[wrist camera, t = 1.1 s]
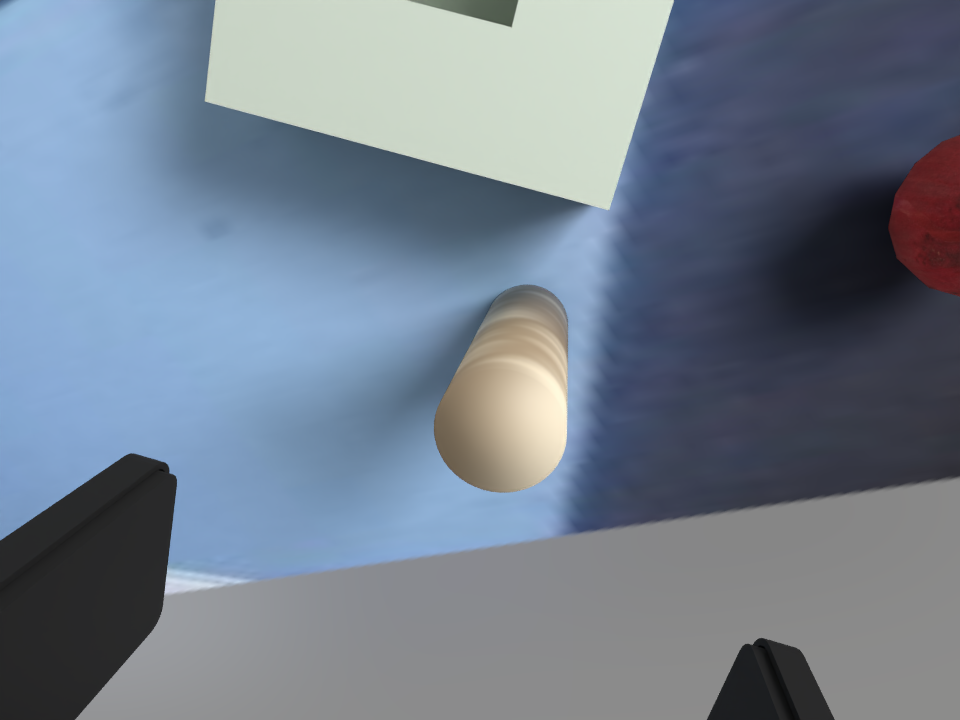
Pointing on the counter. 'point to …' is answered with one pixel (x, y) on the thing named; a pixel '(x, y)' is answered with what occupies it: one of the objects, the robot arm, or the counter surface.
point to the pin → (509, 395)
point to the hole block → (451, 80)
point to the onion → (930, 218)
